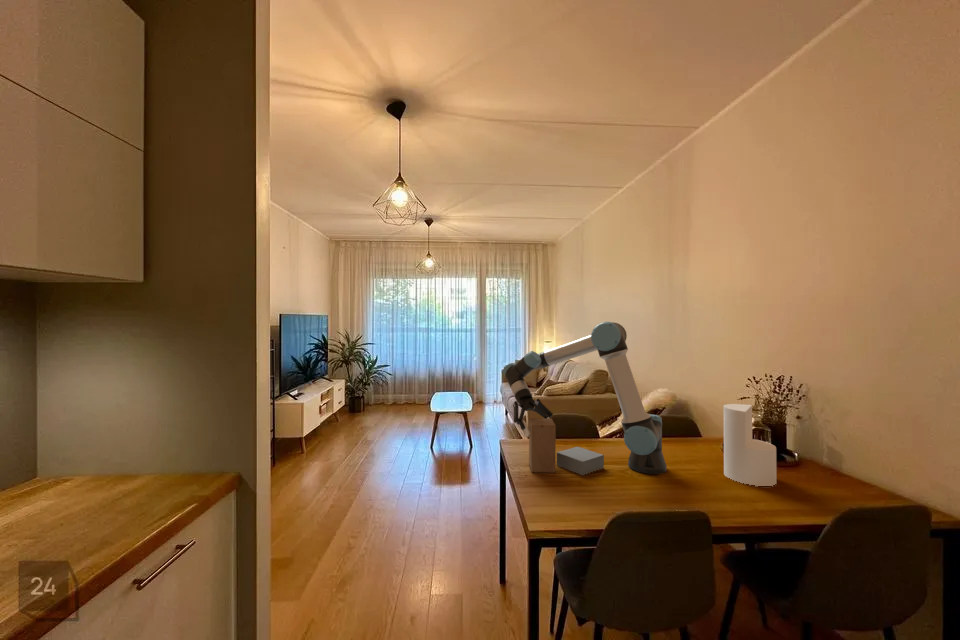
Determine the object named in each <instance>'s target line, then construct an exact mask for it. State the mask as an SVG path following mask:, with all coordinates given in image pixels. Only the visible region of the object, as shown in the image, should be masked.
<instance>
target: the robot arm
mask: <svg viewBox="0 0 960 640" xmlns="http://www.w3.org/2000/svg"><path fill="white" fill-rule="evenodd" d="M627 336H628V335H627V330H626V329H625V327H624V326H623V325H622V324H620V323H618V322H615V321H614V322H612V321H602V322H601V323H598V324H597V325H596V326H594V328H593V329H592V331H591V334H589V335H587V336H583V337H581V338H578V339H576V340H572V341H570V342H567V343H565V344H562V345H559V346H556V347H552V348H551V349H547V350H545V351H542V352H539V353H537V351H534V350H531V351H529V352H527V353H526V354H525V355H524V356H523V357H522V358H521V359H520V360H519V361H517V362H516V363H515V362H509V363H508V364H506V365H505V366H504V367H503V368H502V369H503V370H502V371H503V375H504V378H505V379H506V381H507V383H508V386H509V388H510V390H511V392H512V395H513V396H514V398H515V400H516V401H515V400H514V402H513V403H512V407H513V423H514V424H517V425H518V426H519V427H520V429H521V430H522V431H523V433H524V434H525V435H524V436H525V437H526V438H529V435H530V434H531V433H530V431H529V427H528V424H527V423H526V421H525V420H524V416H525V412H528V411H532V412H535V413H537V414H538V415H540V417H542V418H543V419H552V417H553V415H554V414H553V413H552V411H551V410H549V408H547V407H546V406H545V404H543V403H542V401H541V399H540V398H537V399H533V394H532V393H531V391H530V389H529V387H528V385H527V382H526V381H525V377H527V375H529V374H530V373H532V372H533V371H537V370H542V369H545V368H548V367H550V366H553V365H557V364H559V363H562V362H565V361H569V360H572V359H574V358H577V357H581V356H584V355H588V354H589V353H593V352H595V351H597V352H598V355H599V358H600V359H602V360H604V361H605V365H606V368H607V371H608V374H609V377H610V379H611V383H612V386H613V389H614V392H615V395H616V398H617V401H618V404H619V407H620V411H621V413H622V419H621V421H620V423H621V426H622V429H623V432H624V435H623V441H624V444H625V446H626V448H627V449H628V450H629V451H630V454H629V457H628V460H627V465H628V467H629V468H630V469H631V470H634V471H636V472H638V473H642V474H647V475H648V474H649V475H661V474H662V475H663V474H665V473H666V472H667V468H668V467H667V463H666V461H665V457H664V454H663V430H662V429H663V422H662V421H663V419H662V416H660V415H657V414H651V413H647V412H646V411H645V407H644V405H643V404H644V403H643V402H642V398H641V396H640V393H639V390H638V387H637V384H636V382H635V378H634V375H633V372H632V369H631V367H630V363H629V360H628V357H627V353H628V351H629V349H628V346H627V343H626V340H627V339H628V338H627ZM519 407H520V408H521V409H520V413H519Z"/></svg>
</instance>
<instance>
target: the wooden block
mask: <svg viewBox="0 0 960 640" xmlns="http://www.w3.org/2000/svg"><path fill="white" fill-rule="evenodd" d="M528 426H529V427H528V429H529V431H530V433H531V434H530V435H529V437H528V438H529V439H528V445H529V446H528V464H529V468H530V472H531V473H548V474H549V473H554V474H555V473H556V446H557V445H556V444H557V443H556V438H557V436H556V433H557V432H556V431H557V429H556V428H557V426H556V424H555V422H554V420H553V419H552V418H551V419H545V418H533V417H532V418H529V419H528Z"/></svg>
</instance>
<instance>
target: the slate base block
mask: <svg viewBox="0 0 960 640" xmlns="http://www.w3.org/2000/svg"><path fill="white" fill-rule="evenodd" d="M604 457H605V456H604V454H602V453H599V452H595V451H592V450H590V449H586V448H583V447H580V446H575V447H572V448H568V449H564V450H559V451H557V452H556V466H557V465H558V467H560V468H562V467H563V468H562V469H564V470H567V469H568V470H567V471H570V472H572V471H573V472H572V473H575V472H576V473H575V474H577V473H578V475H579V474H580V475H579V476H582V475H583V476H585V474H586V475H589V474H591V473H590V472H592V473H594V472H593V471H595V472H597V471H596V470H598V471H600V470H599V469H601V470H603V469H605V467H604V466H605V464H604V463H605V461H604V460H605V458H604ZM602 468H603V469H602ZM588 473H589V474H588Z"/></svg>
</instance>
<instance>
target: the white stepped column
mask: <svg viewBox="0 0 960 640" xmlns="http://www.w3.org/2000/svg"><path fill="white" fill-rule="evenodd" d="M723 475H724V476H725V477H726V478H728V479H729V478H730V480H731V479H732V480H731V481H733V480H734V482H736V481H737V482H736V483H739V482H740V484H743V483H744V484H743V485H746V484H749V485H748V486H751V485H755V486H754V487H758V486H772V487H774V486H773V485H775V484H776V485H777V447H776V445H774V444H771V443H770V442H768V441H767V442H766V441H764V440H759V439H754V438H753V405H752V404H743V403H728V404H724V405H723ZM776 485H775V486H776Z"/></svg>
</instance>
